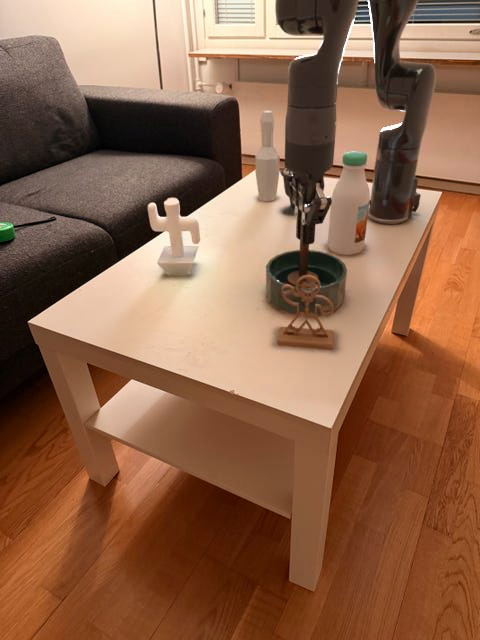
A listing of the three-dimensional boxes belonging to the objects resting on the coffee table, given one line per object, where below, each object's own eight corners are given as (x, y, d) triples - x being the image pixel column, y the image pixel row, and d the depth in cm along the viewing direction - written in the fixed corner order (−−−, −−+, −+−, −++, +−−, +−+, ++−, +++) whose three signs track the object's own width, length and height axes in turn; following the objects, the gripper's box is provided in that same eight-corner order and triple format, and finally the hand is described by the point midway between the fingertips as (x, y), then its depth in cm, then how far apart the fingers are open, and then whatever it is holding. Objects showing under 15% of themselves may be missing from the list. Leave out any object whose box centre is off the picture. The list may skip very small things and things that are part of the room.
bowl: (323, 271, 93) (325, 244, 89) (357, 309, 82) (361, 280, 78) (256, 284, 90) (255, 257, 86) (282, 325, 79) (282, 295, 75)
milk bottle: (342, 259, 97) (352, 162, 85) (320, 245, 102) (326, 152, 91) (371, 250, 99) (384, 155, 88) (348, 236, 105) (358, 146, 93)
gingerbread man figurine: (333, 334, 76) (339, 270, 69) (332, 349, 73) (339, 284, 66) (279, 330, 77) (280, 267, 70) (276, 345, 74) (277, 280, 67)
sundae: (304, 216, 115) (307, 155, 106) (278, 215, 116) (278, 154, 107) (307, 206, 120) (310, 147, 111) (281, 205, 121) (282, 146, 113)
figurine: (200, 279, 92) (193, 207, 83) (154, 279, 93) (142, 208, 84) (205, 261, 98) (199, 193, 89) (161, 261, 99) (151, 193, 90)
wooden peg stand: (310, 279, 88) (314, 204, 80) (322, 293, 84) (328, 217, 75) (282, 284, 87) (284, 209, 78) (293, 299, 83) (296, 222, 74)
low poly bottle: (257, 193, 129) (255, 108, 116) (279, 194, 128) (281, 108, 115) (254, 202, 124) (252, 114, 111) (278, 202, 123) (279, 114, 110)
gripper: (354, 144, 65) (342, 254, 75) (314, 123, 76) (309, 222, 86) (304, 150, 64) (300, 262, 74) (271, 128, 74) (271, 228, 84)
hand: (305, 240), depth 80 cm, fingers closed on wooden peg stand
